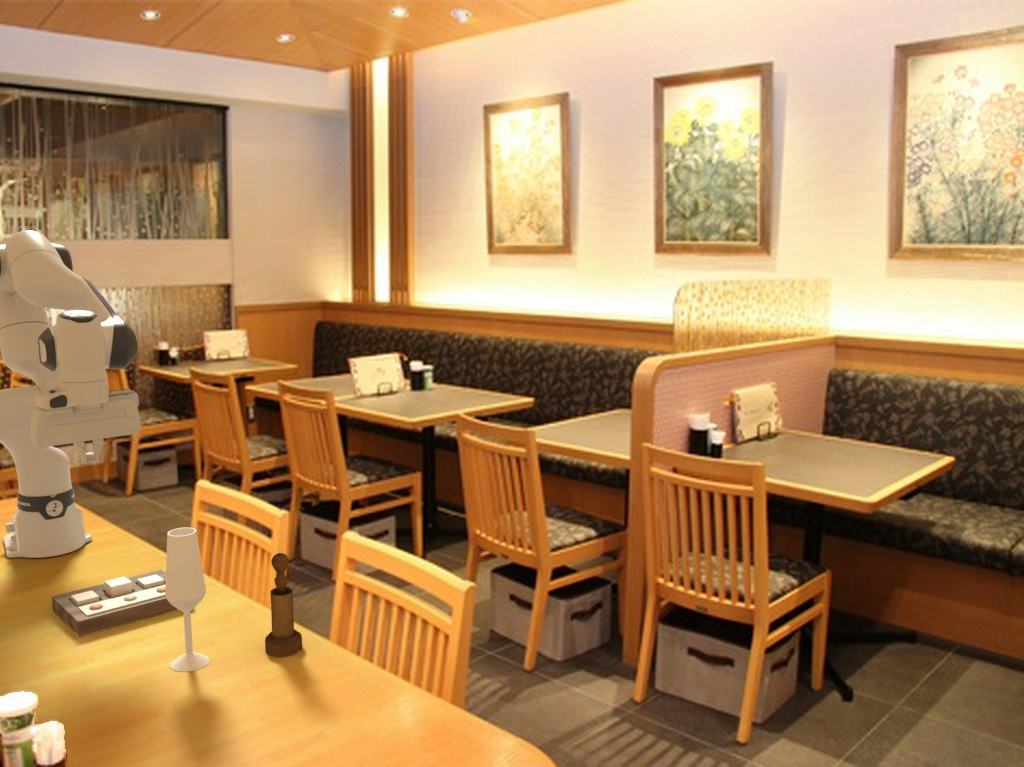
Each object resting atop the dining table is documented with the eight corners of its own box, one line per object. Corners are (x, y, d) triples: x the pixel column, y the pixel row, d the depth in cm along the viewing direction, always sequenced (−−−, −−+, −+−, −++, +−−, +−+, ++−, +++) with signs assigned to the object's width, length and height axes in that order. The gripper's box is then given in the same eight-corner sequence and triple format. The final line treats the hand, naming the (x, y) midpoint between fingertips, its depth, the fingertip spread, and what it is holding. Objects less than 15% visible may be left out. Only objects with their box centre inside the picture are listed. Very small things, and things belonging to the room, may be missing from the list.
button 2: (138, 592, 198) (137, 579, 197) (157, 587, 200) (156, 574, 200) (145, 598, 195) (144, 584, 194) (165, 593, 197) (164, 579, 197)
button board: (52, 610, 191) (51, 596, 190) (161, 582, 205) (160, 569, 205) (79, 636, 179) (78, 621, 178) (193, 605, 193) (192, 591, 193)
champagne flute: (196, 650, 173) (188, 523, 169) (217, 661, 169) (210, 531, 165) (162, 664, 168) (153, 532, 164) (183, 675, 164) (175, 541, 160)
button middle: (105, 595, 193) (104, 581, 193) (125, 590, 196) (124, 576, 195) (112, 601, 190) (111, 586, 190) (132, 595, 193) (131, 581, 192)
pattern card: (78, 608, 184) (78, 606, 184) (170, 584, 196) (169, 582, 196) (87, 616, 181) (86, 614, 181) (180, 591, 192) (179, 589, 192)
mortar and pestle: (297, 657, 170) (293, 560, 167) (261, 657, 171) (256, 560, 168) (305, 641, 177) (302, 547, 174) (271, 640, 177) (266, 547, 174)
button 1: (72, 609, 189) (71, 595, 189) (93, 604, 192) (91, 590, 191) (78, 616, 186) (77, 601, 186) (100, 610, 189) (98, 596, 188)
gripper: (131, 385, 198) (136, 450, 200) (24, 397, 184) (30, 467, 186) (143, 389, 193) (148, 456, 195) (34, 402, 179) (40, 474, 182)
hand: (90, 462), depth 191 cm, fingers closed
